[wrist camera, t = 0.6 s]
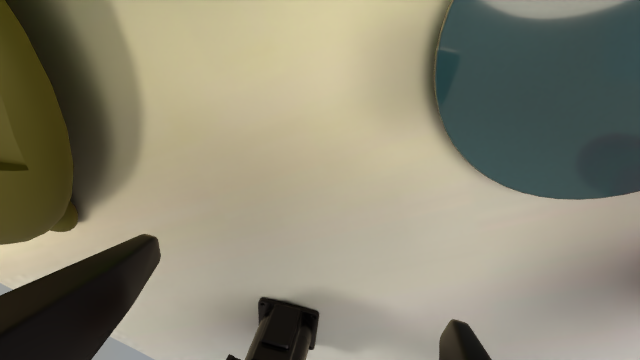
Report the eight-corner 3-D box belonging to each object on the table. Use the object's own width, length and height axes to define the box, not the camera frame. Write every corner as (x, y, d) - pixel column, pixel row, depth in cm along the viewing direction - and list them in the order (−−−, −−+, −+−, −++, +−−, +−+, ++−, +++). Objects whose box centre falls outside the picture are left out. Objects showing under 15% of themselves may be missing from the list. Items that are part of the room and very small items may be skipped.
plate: (675, 213, 19) (690, 224, 18) (402, 164, 22) (403, 172, 21) (1029, -184, 10) (1096, -203, 9) (499, -198, 13) (508, -214, 12)
